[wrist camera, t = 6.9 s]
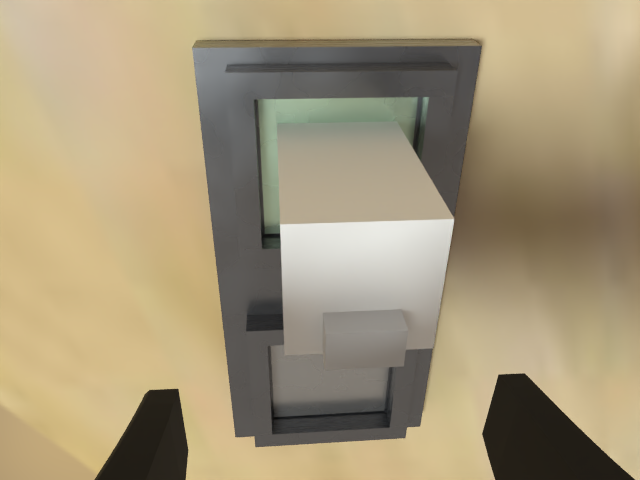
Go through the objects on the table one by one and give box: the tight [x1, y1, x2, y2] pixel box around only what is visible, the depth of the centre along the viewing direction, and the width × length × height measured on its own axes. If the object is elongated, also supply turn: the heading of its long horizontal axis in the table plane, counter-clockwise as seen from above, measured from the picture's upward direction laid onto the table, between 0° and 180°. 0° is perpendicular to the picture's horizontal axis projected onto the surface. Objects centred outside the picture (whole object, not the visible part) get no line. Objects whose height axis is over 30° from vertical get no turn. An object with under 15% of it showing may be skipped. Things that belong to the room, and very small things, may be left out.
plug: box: [277, 121, 454, 370], centre depth 16 cm, size 4×4×7 cm
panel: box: [192, 39, 482, 447], centre depth 21 cm, size 9×18×2 cm, turn 179°
